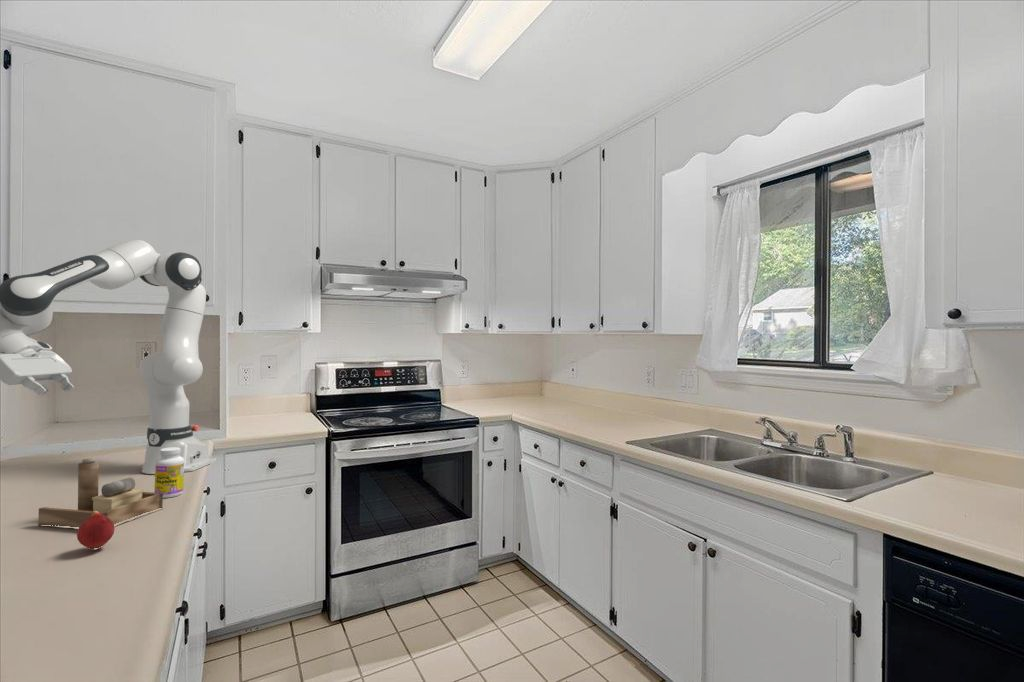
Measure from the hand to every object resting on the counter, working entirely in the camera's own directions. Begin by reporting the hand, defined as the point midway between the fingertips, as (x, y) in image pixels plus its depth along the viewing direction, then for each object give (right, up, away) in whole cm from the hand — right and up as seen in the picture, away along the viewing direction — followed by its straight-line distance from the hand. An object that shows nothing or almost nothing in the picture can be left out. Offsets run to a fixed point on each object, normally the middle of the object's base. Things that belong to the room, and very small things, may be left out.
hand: (57, 391), depth 130 cm
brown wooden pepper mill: (+14, -29, -7) cm, 33 cm away
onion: (+32, -30, -27) cm, 51 cm away
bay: (+18, -30, -8) cm, 36 cm away
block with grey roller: (+22, -30, -9) cm, 38 cm away
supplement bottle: (+22, -30, +10) cm, 38 cm away
